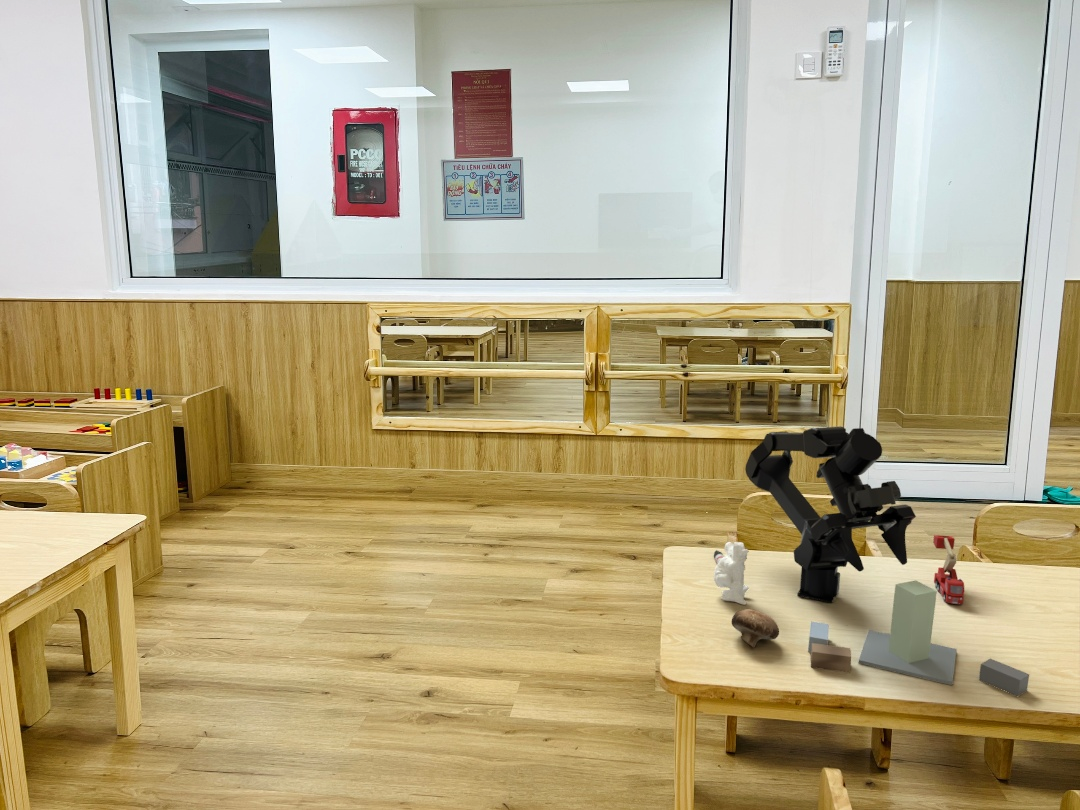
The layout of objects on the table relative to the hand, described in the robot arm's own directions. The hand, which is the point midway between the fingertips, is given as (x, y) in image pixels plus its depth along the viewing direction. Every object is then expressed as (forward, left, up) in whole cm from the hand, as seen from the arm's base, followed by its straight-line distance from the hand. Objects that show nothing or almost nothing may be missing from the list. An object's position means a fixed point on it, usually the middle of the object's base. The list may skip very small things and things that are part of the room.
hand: (883, 567), depth 147 cm
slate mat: (+6, -6, -13) cm, 15 cm away
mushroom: (-18, -13, -13) cm, 26 cm away
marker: (-32, +15, -13) cm, 38 cm away
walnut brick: (-5, -15, -13) cm, 21 cm away
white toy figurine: (-26, +2, -13) cm, 29 cm away
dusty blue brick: (-8, -9, -13) cm, 18 cm away
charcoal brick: (+20, -8, -13) cm, 25 cm away
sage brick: (+6, -6, -12) cm, 15 cm away
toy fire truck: (+10, +26, -13) cm, 31 cm away
